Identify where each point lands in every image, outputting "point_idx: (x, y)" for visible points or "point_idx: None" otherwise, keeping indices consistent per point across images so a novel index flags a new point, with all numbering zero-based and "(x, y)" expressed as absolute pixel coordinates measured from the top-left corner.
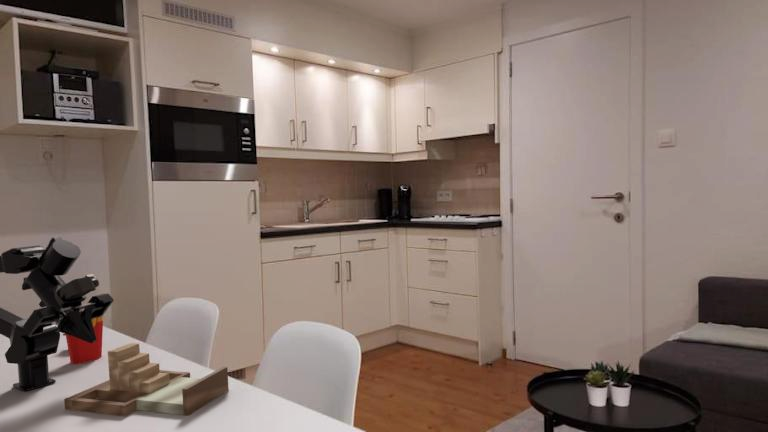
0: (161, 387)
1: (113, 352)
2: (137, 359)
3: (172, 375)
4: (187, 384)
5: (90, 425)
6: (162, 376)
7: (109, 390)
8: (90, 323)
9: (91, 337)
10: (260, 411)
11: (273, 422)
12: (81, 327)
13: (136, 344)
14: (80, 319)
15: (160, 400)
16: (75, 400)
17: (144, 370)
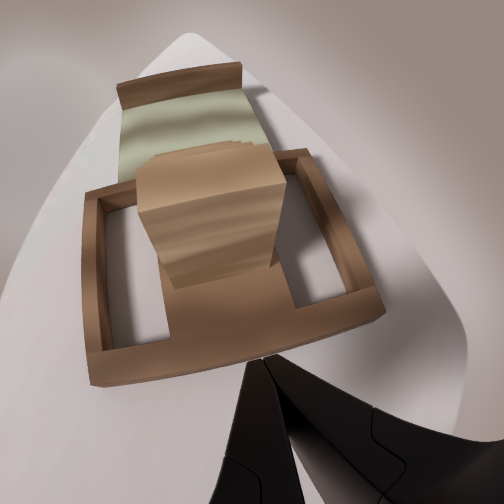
0: None
1: (274, 160)
2: (205, 152)
3: (98, 230)
4: (157, 137)
5: (363, 184)
6: (179, 150)
7: (276, 260)
8: (246, 478)
9: (290, 362)
10: (187, 62)
11: (207, 48)
12: (387, 414)
13: (150, 166)
14: (410, 498)
15: (249, 117)
16: (369, 273)
17: (214, 146)
